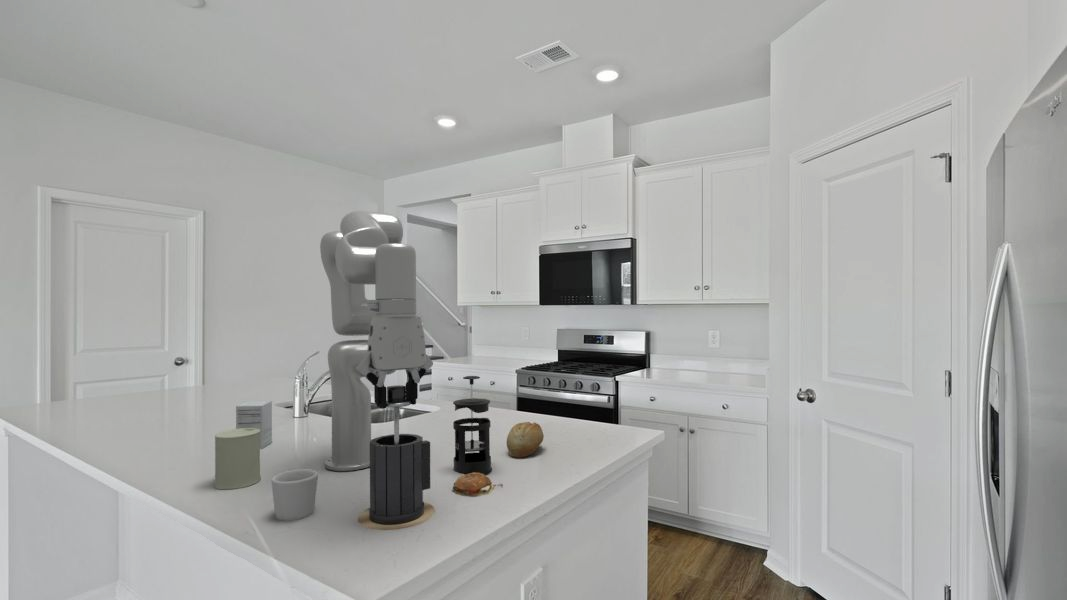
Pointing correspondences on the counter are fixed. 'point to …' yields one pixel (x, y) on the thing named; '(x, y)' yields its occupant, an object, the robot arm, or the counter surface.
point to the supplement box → (256, 419)
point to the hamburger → (473, 485)
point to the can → (237, 458)
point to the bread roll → (524, 439)
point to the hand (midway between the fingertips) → (396, 404)
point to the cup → (294, 493)
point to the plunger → (396, 405)
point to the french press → (475, 460)
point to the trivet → (428, 513)
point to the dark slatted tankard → (398, 478)
